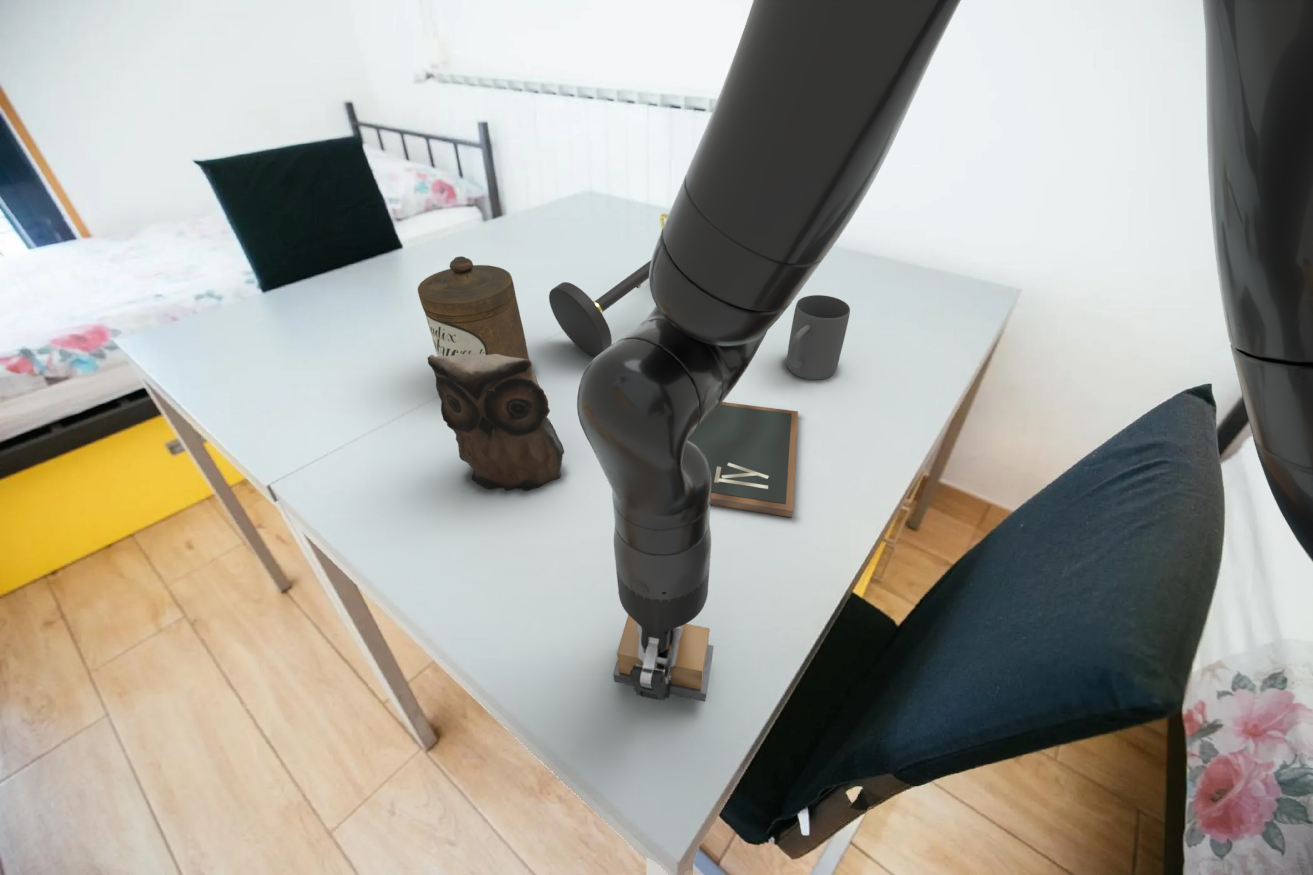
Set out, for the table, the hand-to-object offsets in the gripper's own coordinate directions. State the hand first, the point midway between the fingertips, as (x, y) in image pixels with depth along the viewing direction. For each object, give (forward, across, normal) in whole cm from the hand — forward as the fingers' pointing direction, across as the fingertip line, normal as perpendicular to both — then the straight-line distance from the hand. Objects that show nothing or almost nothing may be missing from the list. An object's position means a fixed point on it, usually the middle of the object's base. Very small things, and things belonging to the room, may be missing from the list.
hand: (664, 664), depth 54 cm
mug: (+2, +60, -13) cm, 62 cm away
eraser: (0, 0, 0) cm, 0 cm away
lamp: (+1, +73, +18) cm, 76 cm away
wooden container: (+1, +46, +42) cm, 63 cm away
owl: (+2, +26, +27) cm, 38 cm away
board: (+2, +35, -3) cm, 35 cm away
